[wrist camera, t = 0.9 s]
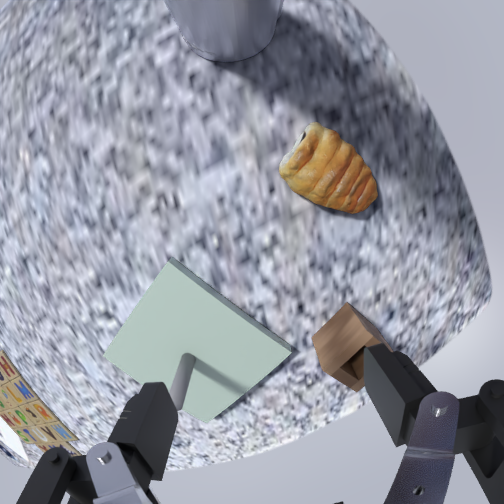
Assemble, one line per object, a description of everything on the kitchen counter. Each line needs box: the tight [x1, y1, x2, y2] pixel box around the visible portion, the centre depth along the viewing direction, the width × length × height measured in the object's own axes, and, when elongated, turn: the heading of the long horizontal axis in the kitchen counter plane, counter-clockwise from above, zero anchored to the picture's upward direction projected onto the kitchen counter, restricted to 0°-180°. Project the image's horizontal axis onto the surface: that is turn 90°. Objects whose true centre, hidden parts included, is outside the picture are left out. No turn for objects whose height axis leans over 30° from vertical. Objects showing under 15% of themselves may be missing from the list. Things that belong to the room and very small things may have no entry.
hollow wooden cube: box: [312, 303, 394, 392], centre depth 28 cm, size 6×6×6 cm
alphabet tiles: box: [0, 350, 82, 456], centre depth 37 cm, size 28×33×1 cm
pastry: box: [279, 122, 378, 214], centre depth 24 cm, size 9×7×4 cm
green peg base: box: [103, 257, 292, 423], centre depth 27 cm, size 16×16×9 cm
